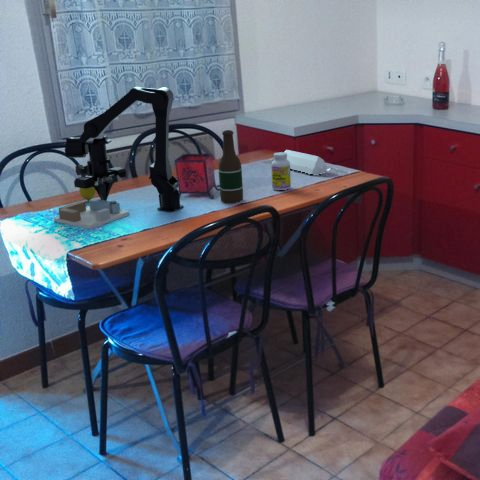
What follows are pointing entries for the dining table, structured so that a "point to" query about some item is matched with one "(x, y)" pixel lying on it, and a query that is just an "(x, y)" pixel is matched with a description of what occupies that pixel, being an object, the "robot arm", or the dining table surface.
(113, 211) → the leg
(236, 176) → the beer bottle
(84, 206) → the seat
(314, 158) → the white triangular prism
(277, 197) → the dining table surface
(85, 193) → the lemon
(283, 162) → the supplement bottle
